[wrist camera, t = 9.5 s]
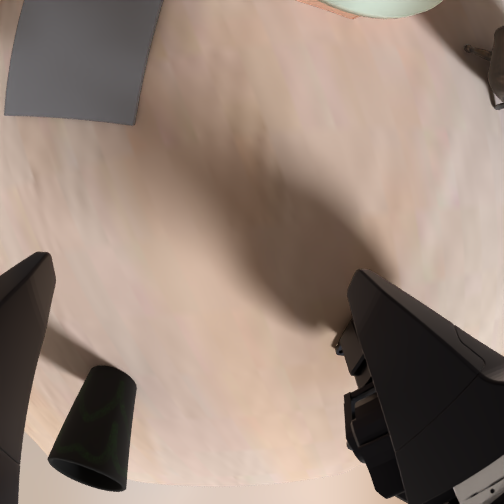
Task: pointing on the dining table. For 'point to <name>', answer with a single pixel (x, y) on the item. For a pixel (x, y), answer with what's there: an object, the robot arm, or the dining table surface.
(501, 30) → the alarm clock
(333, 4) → the wooden peg on disc
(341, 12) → the bowl
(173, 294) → the dining table surface
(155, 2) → the mat
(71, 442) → the cup
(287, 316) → the dining table surface
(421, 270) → the dining table surface
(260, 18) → the dining table surface
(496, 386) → the robot arm
